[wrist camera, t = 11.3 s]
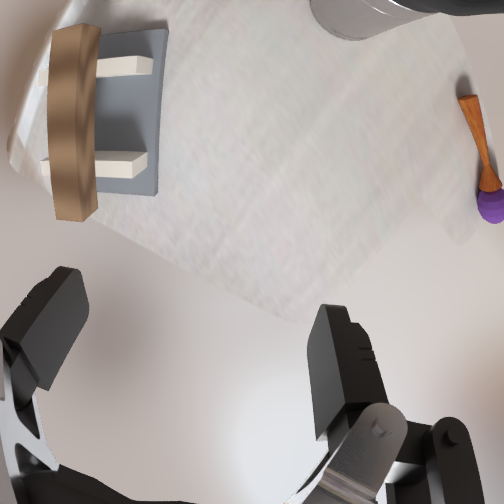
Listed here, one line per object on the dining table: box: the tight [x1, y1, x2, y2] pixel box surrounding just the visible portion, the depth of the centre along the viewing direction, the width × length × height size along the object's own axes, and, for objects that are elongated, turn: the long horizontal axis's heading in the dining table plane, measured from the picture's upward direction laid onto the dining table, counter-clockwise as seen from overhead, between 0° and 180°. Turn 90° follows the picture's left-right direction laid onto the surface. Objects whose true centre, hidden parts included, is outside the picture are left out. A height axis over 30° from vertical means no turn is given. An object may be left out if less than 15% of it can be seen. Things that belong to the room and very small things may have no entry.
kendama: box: [457, 95, 504, 224], centre depth 32 cm, size 6×6×20 cm
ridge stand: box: [39, 29, 169, 196], centre depth 30 cm, size 22×16×6 cm
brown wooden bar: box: [47, 24, 101, 222], centre depth 26 cm, size 22×4×4 cm, turn 173°
